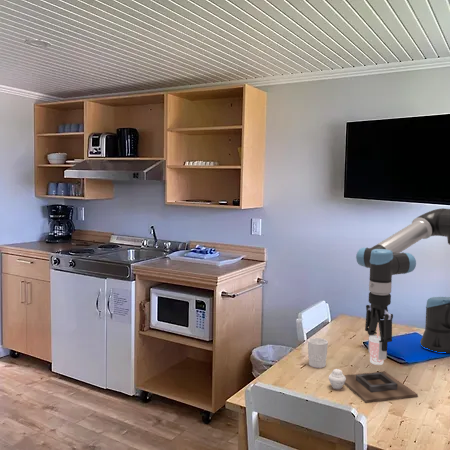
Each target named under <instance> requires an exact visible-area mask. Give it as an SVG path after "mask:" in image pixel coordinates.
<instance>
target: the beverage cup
mask: <svg viewBox="0 0 450 450" xmlns="http://www.w3.org/2000/svg"><path fill="white" fill-rule="evenodd" d="M376 333H377V334H376V335H377V336H369V335H368V340H369V341H370V353H369V363H370V364H372V365H375V366H381V365H383V364H384V361H385V359H383V360H379V359H378V357H379V341H380V340H381V338H380V330H379V324H377V328H376ZM369 341H368V342H369Z"/></svg>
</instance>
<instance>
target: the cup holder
mask: <svg viewBox="0 0 450 450" xmlns="http://www.w3.org/2000/svg"><path fill="white" fill-rule="evenodd" d="M343 375H344V376H345V378H346V381H345V383H344V385H345V387H347V388H348V389H349V390H351V392H353V393H354V394H355V395H356V396H357V397H359V399H361V400H362V401H363V402H364V403H365V404H368V403H378V402H385V401H395V400H404V399H411V398H418V396H419V395H418V393H417V392H415V391H414V390H413V389H411V388H410V387H408V386H407V385H406V384H404V383H403V382H401V381H400V380H398V379H397V378H395V377H394V376H392V375H391V374H389V373H388V372H387V371H386V370H384V371H376V372H375V371H374V372H365V373H354V374H353V373H352V374H343Z"/></svg>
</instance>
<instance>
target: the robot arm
mask: <svg viewBox="0 0 450 450" xmlns="http://www.w3.org/2000/svg"><path fill="white" fill-rule="evenodd" d="M436 236H438V237H439V236H440V237H446V238H447V244H448V245H449V246H450V208H444V207H443V208H437V209H433V210H430V211H427V212H424V213H423V214H421V215H419V216H417V217H416V218H413V220H412V221H411V224H409V225H407V226H405V227H404V228H402V229H399V230H398V231H397V232H395V233H393V234H392V235H390V236H389V237H387V238H384V240H382V241H380V242H378V243H376V245H373V246H371V247H361V248H359V249H358V250H357V252H356V257H355V259H356V262H357V264H358V265H359V266H361V267H363V268H367V269H368V268H369V284H368V286H369V287H368V291H369V292H368V303H369V304H366V305H365V309H366V314H365V326H364V330H365V332H367V335H368V337H369V336H377V328H378V325H379V336H380V338H381V340H380V341H379V357H378V359H379V360H383V359H384V360H387V358H388V357H387V355H388V352H387V351H388V343H391V342H392V341H393V318H394V314H393V313H390V312H389V310H388V307H389V305H391V303H392V302H391V300H392V298H391V297H392V295H391V293H392V281H393V280H392V279H393V275H405V274H409V273H411V272H413V271H414V270H415V269H416V265H417V260H416V258H415V256H414V255H413V254H412V253H410V252H404V251H405V250H406V249H408V248H410V247H412V246H413V245H414V244H415V245H416V243H418V242H420V241H421V240H422V239H423V240H427V239H429V238H430V237H436ZM424 327H425V328H424V331H423V334H422V337H421V339H420V343H421V345H422V346H423V347H425V348H428V349H430V350H433V351H437V352H446V353H450V296H433V297H430V298H428V299H427V300H426V306H425V326H424ZM367 340H368V346H367V349H368V350H367V353H369V354H370V341H369V339H367ZM420 343H419V344H420Z"/></svg>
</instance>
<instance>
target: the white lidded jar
mask: <svg viewBox="0 0 450 450" xmlns="http://www.w3.org/2000/svg"><path fill="white" fill-rule="evenodd" d="M344 375H345V374H343V370H342V369H339V368H334V369H333V370H332V371H331V373H330V374H329V375H328V381H329V383H330V385H331V387H332V389H333V390H342V388H343V387H344V385H345V384H344V383H345V381H346V378H345V376H344Z"/></svg>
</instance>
